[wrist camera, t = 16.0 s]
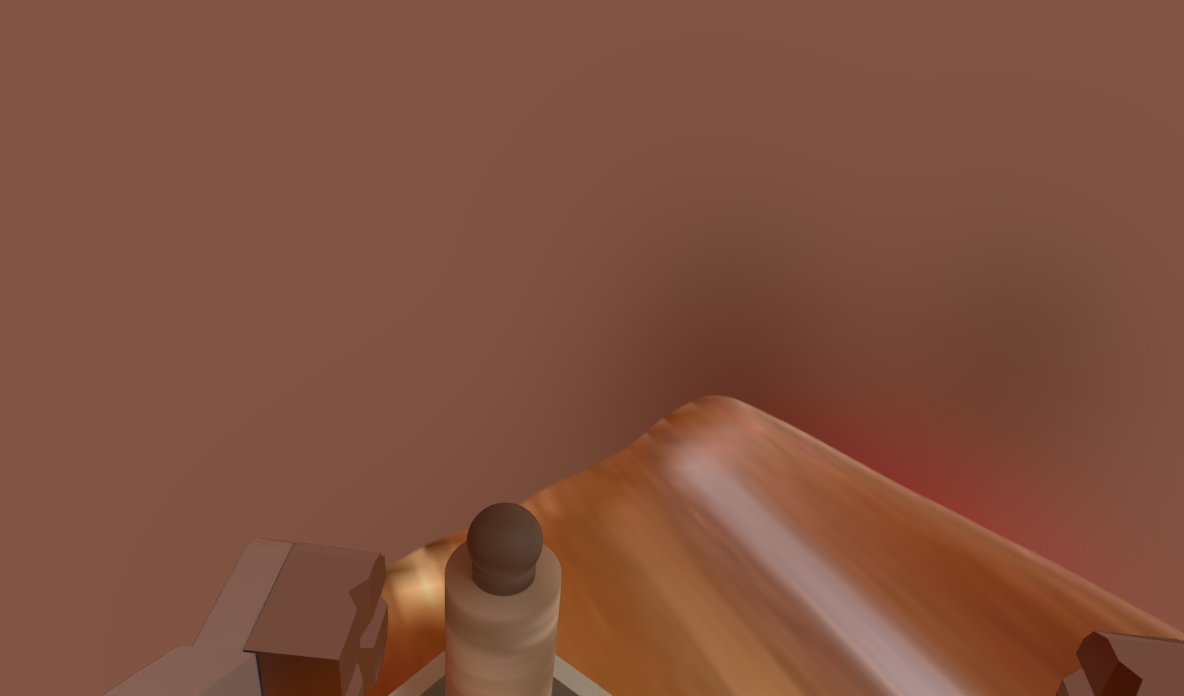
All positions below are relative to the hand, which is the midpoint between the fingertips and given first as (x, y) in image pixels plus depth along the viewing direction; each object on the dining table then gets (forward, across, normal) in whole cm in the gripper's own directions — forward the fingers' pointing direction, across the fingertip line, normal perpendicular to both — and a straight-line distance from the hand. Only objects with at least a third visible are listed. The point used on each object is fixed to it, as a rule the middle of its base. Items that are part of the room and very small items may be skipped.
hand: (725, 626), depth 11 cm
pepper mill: (+18, +5, +31) cm, 37 cm away
